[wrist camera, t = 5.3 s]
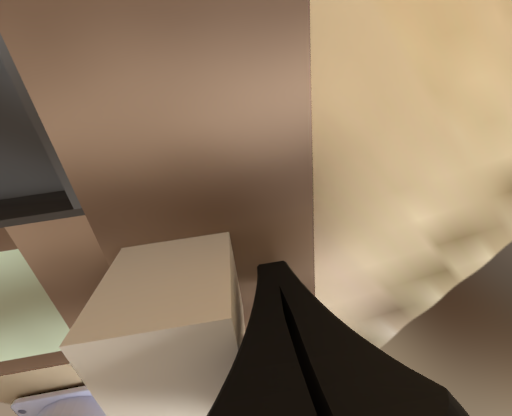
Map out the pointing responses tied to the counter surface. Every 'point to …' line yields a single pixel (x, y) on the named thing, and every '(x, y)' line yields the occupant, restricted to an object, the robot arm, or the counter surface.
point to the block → (160, 328)
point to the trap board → (145, 147)
